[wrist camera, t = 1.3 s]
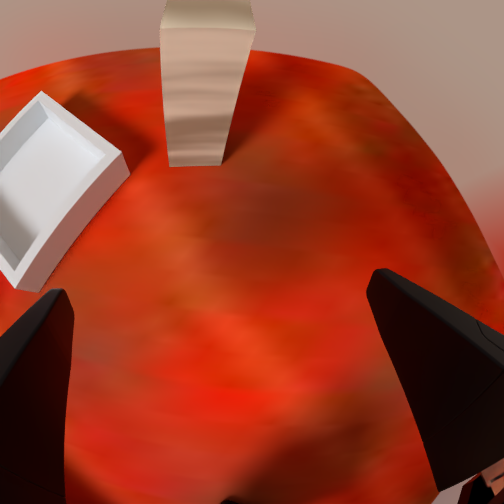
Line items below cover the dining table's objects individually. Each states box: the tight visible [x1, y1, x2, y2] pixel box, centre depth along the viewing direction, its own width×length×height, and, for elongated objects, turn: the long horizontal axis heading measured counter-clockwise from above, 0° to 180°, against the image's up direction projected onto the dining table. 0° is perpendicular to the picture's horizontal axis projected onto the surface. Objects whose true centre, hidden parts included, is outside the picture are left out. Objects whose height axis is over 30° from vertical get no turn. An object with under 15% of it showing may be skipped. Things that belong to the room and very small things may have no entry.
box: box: [0, 91, 130, 293], centre depth 17 cm, size 12×12×4 cm
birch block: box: [160, 0, 256, 167], centre depth 16 cm, size 4×4×13 cm
